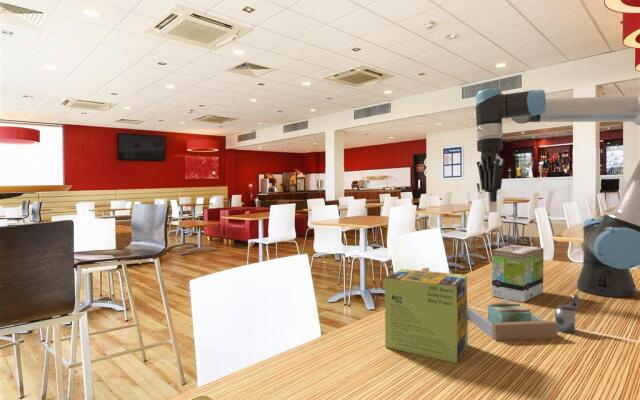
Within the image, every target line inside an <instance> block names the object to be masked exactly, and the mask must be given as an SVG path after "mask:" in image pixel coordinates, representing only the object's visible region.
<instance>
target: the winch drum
mask: <svg viewBox="0 0 640 400" xmlns="http://www.w3.org/2000/svg"><path fill="white" fill-rule="evenodd" d="M576 310H579V295H577V294H571V304H560V306H556V307H555V308H554V317H555V318H554V322H556V323H557V332H561V333H564V334H575V333H576Z"/></svg>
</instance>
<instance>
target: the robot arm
mask: <svg viewBox="0 0 640 400" xmlns="http://www.w3.org/2000/svg"><path fill="white" fill-rule="evenodd" d="M475 117H476V119H475V122H476V129H475V131H476V138H477V139H478V140H477V141H476V150H477V152H479V153H480V154H481V155H480V160H479V161H477V162H476V165H477V168H478V169H477V170H478V174H479V175H478V176H479V180H480V187H481V190H483V191H484V192H485V201H486V202H485V207H486V213H497V212H498V201H497V200H498V197H497V196H498V195H497V193H498V190H501V189H502V184H503V173H504V166H505V162H506V158H502V157H501V154H500V151H502V150H503V149H504V148H503V147H504V144H503V138H501V137H503V120H504V119H511V120H512V121H513V122H514V123H517V124H520V125H521V124H523V125H524V124H527V123H552V122H553V123H563V122H564V123H567V122H568V123H569V122H570V123H574V122H576V123H581V122H586V123H587V122H588V123H589V122H590V123H592V122H593V123H595V122H597V123H598V122H600V123H603V122H605V123H606V122H607V123H608V122H609V123H611V122H614V123H616V122H617V123H618V122H621V123H624V122H625V123H626V122H627V123H629V122H631V123H633V124H635V125H636V126H640V93H638V94H637V95H634V96H633V95H632V96H630V95H628V96H627V95H626V96H623V95H622V96H598V97H597V96H595V97H589V96H588V97H560V98H546V92H545V90H544V89H530V90H525V91H520V92H512V93H511V92H510V93H502V89H500V88H499V87H498V88H497V87H493V88H491V87H490V88H485V89H482V90H479V91H478V92H476V95H475ZM582 230H583V240H582V241H583V246H582V247H583V248H582V249H583V251H582V252H583V256H582V257H583V262H582V264H583V266H582V267H581V270H580V271H579V276H578V278H577V280H576V288H577V289H578V290H580V291H582V292H585V293H588V294H592V295H595V296H596V295H598V296H602V297H603V296H605V297H613V298H630V297H634V296H636V295H637V286H636V284H635V281H634V278H633V275H632V273H631V270H630V269H633V268H637V267H638V266H640V160H639V161H638V163H637V165H636V167H635V168H634V170H633V172H632V175H631V177H630V178H629V180H628V183H627V185H626V186H625V189H624V190H623V193H622V194H621V195H620V198H619V200H618V202H617V205H616V206H615V209H613V210H612V211H609V212H606V213H605V214H604V215H603V217H601V218H600V217H599V218H598V217H597V218H595V217H594V218H587V219H586V218H585V220H584V221H583V227H582Z"/></svg>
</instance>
